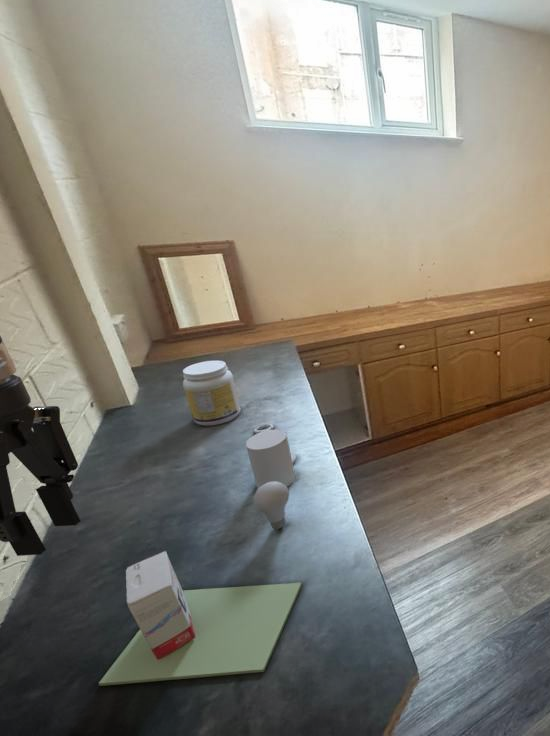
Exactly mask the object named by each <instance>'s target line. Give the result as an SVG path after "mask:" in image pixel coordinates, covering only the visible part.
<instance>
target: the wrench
mask: <svg viewBox="0 0 550 736" xmlns="http://www.w3.org/2000/svg"><path fill="white" fill-rule="evenodd" d="M274 428H275V427H274V424H272V423H266V424H265V423H264V424H261V425H259V426H257V427H255V428H254V429H253V432H254V434H255V435H256V434H258V433H260V432H263V431H267V430H274ZM290 453H291V458H292V462H293V464H294V463H295V462H296V461H297V456H296V454H294V453H292V452H290Z"/></svg>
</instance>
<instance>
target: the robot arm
mask: <svg viewBox="0 0 550 736" xmlns="http://www.w3.org/2000/svg"><path fill="white" fill-rule="evenodd" d="M16 372H17V367H16V365H15V363H14V361H13V359H12V356H11V355H10V353H9V351H8V348H7V346H6V344H5V341H3V339H2V336H1V335H0V542H3V543H9V544H10V546H11V547H12V549H13V551H14V553H15V554H16V557H21V556H23V557H24V556H40V555H41V556H42V554H43V553H44V552H46V551H47V549H46V547H45V545H44V543H43V541H42V540H41V538H40V536H39V534H38V532H37V530H36V529H35V527H34V525H33V523H32V521H31V518H30V517H29V516H28V514H27V512H26V511H17V510H16V507H15V501H14V495H13V492H12V486H11V483H10V478H9V471H8V467H7V466H8V465H10V463H11V460H10V456H9V454H10V453H12V454H13V455H14V457H15V458H16V459H17V460H18V461H19V462H20V463H21V464H22V465H23V466H24V467H25V468H26V469H27V471H28V472H30V473H31V474H32V476H34V477H35V478H36V479H37V480H38V481H39V483H41V484H44V485H40V486H39V487H37V488H36V489H35V491H36V493H37V495H38V497H39V498H40V500H41V503H42V505H43V506H44V508H45V510H46V512H47V515H48V516H49V518H50V520H51V522H52V524H53V526H54V527H68V526H70V527H71V526H77V525H78V524H79V523H81V519H80V517H79V515H78V512H77V511H76V508H75V507H74V504H73V502H72V500H73V498H74V494H73V492H72V490H71V488H70V486H69V485H70V484H69V483H72V482H73V481H74V480H75V479H74V478H75V475H74V474H70V473H71V472H72V471H77V469H78V467H79V463H78V460H77V458H76V456H75V454H74V451H73V449H72V447H71V445H70V442H69V440H68V436H67V435H66V433H65V429H64V428H63V425H62V423H61V409H60V407H59V406H58V405H43V406H31V405H30V404H31V400H32V399H31V395H30V394H29V392H28V390H27V388H26V386H25V383H24V382H23V379H22V377H21V376H17V375H16V374H15V373H16Z"/></svg>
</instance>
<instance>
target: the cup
mask: <svg viewBox="0 0 550 736" xmlns="http://www.w3.org/2000/svg"><path fill="white" fill-rule="evenodd" d="M245 447H246V450H247V455H248V458H249V462H250V466H251V470H252V473H253V474H252V475H253V477H254V481H255V484H256V489H257V490H258V489H259V488H260V487H261V486H262V485H264V484H265V483H268V482H272V481H277V482H281V483H283V484H284V485H285V486H286V487H287V488H288V487H289V486H291V484H293V483H294V481H295V480H296V473H295V468H294V463H293V462H292V458H291V453H292V452H291V449H290V444H289V439H288V434H287V432H286V431H285V430H282V429H272V430H267V431H263V432H260V433H258V434H256V433H255V434H253V435H252V436H251V437H249V438H248V439H247V440H246V442H245Z"/></svg>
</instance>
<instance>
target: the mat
mask: <svg viewBox="0 0 550 736" xmlns="http://www.w3.org/2000/svg"><path fill="white" fill-rule="evenodd" d="M302 586H303V583H302V582H289V583H274V584H259V585H245V586H231V587H230V586H229V587H215V588H199V589H185V590H183V589H182V590H183V593H184V595H185V597H186V600H187V602H188V606H189V611H190V615H191V620H192V624H193V628H194V632H195V638H193V639H192V640H190V641H189V642H187V643H186V644H184V645H182V646H181V647H179V648H178V649H176V650H175V651H173V652H171V653H169V654H168V655H166V656H164V657H163V658H161V659H156V657H155V655H154V654H153V652H152V650H151V648H150V646H149V644H148V643H147V641H146V639H145V637H144V635H143V633H142V631H141V630H140V629H139V630H138V631H137V632H136V634H135V635H134V637H133V638H132V639H131V640H130V642H129V643H128V644H127V646H125V648H124V649H123V651H122V652H121V653H120V655H119V656H118V657H117V658H116V660H115V661H114V663H113V664H112V665H111V666H110V668H109V669H108V670H107V672H106V673H105V674H104V676H103V677H101V679H100V681H98V686H99V687H107V686H116V685H128V684H139V683H149V682H151V683H152V682H161V681H172V680H183V679H184V680H186V679H195V678H196V679H197V678H208V677H221V676H232V675H233V676H234V675H243V674H244V675H245V674H254V673H264V672H265V671H266V669H267V667H268V664H269V662H270V659H271V657H272V655H273V652H274V650H275V648H276V645H277V643H278V641H279V639H280V637H281V634H282V632H283V629H284V627H285V626H286V623H287V622H288V621H287V620H288V618H289V616H290V614H291V612H292V609H293V607H294V604H295V602H296V600H297V598H298V595H299V593H300V590H301V589H302Z"/></svg>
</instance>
